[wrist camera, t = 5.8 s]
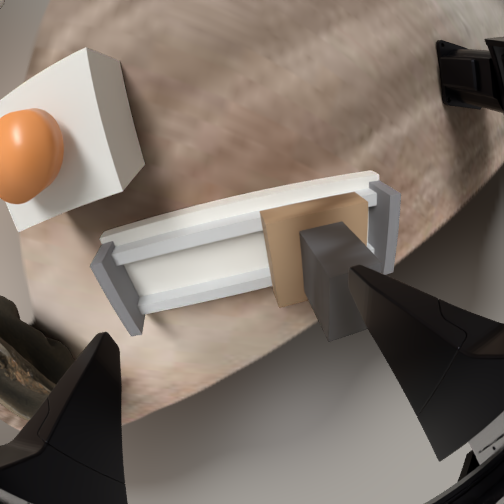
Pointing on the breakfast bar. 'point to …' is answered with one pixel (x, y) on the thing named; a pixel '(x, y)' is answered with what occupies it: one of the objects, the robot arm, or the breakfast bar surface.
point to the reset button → (28, 154)
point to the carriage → (319, 257)
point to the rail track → (221, 246)
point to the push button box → (80, 133)
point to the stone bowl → (27, 363)
